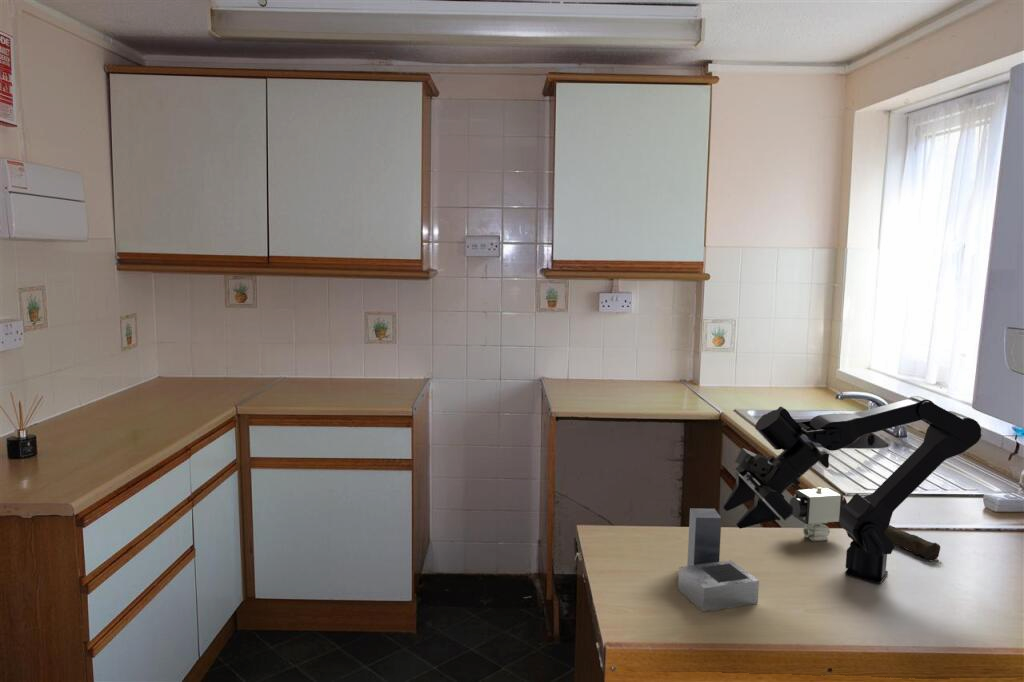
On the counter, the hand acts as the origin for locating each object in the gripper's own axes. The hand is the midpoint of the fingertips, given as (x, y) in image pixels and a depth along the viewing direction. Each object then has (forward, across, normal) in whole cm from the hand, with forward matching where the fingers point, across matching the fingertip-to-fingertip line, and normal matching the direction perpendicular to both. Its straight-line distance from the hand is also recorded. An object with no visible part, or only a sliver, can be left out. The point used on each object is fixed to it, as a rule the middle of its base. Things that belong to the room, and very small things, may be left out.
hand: (731, 517), depth 143 cm
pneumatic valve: (-9, -18, +26) cm, 33 cm away
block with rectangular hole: (+12, +10, +5) cm, 16 cm away
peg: (+12, 0, +5) cm, 13 cm away
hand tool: (-21, -15, +38) cm, 46 cm away
